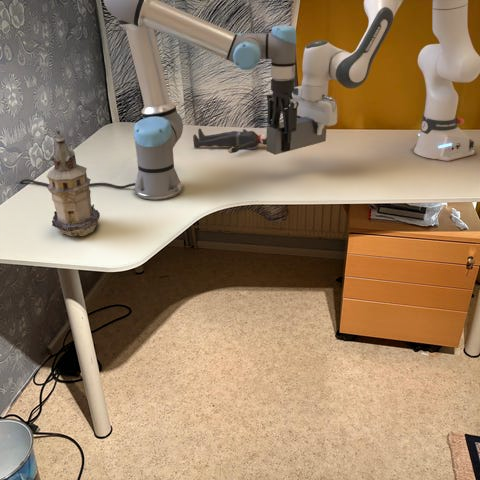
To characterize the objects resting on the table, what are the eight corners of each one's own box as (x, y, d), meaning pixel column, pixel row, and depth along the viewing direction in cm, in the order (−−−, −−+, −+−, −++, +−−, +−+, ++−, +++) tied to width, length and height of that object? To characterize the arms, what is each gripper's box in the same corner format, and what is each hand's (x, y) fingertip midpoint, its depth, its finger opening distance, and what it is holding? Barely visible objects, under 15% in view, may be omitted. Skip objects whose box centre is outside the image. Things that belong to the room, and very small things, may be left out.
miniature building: (80, 214, 164) (63, 117, 149) (111, 225, 157) (96, 125, 142) (44, 231, 154) (22, 130, 140) (75, 244, 147) (55, 139, 133)
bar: (275, 154, 177) (275, 129, 173) (266, 150, 181) (266, 125, 176) (325, 141, 189) (327, 116, 184) (316, 137, 192) (317, 113, 188)
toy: (204, 122, 226) (274, 122, 220) (205, 136, 229) (274, 137, 223) (186, 142, 204) (264, 143, 198) (188, 157, 207) (264, 159, 201)
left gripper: (310, 81, 165) (306, 153, 176) (274, 72, 178) (273, 139, 189) (291, 85, 161) (289, 158, 173) (256, 75, 174) (256, 143, 185)
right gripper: (343, 97, 174) (340, 138, 181) (301, 85, 188) (300, 123, 195) (329, 100, 171) (326, 141, 177) (288, 87, 185) (286, 126, 192)
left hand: (281, 148), depth 181 cm, fingers closed on bar, 5 cm apart
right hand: (312, 132), depth 186 cm, fingers closed on bar, 5 cm apart
